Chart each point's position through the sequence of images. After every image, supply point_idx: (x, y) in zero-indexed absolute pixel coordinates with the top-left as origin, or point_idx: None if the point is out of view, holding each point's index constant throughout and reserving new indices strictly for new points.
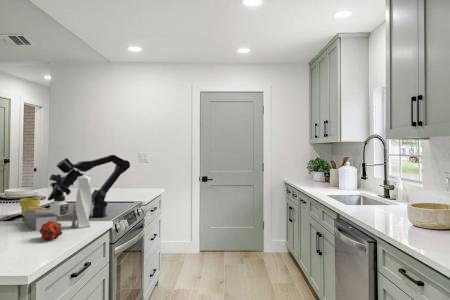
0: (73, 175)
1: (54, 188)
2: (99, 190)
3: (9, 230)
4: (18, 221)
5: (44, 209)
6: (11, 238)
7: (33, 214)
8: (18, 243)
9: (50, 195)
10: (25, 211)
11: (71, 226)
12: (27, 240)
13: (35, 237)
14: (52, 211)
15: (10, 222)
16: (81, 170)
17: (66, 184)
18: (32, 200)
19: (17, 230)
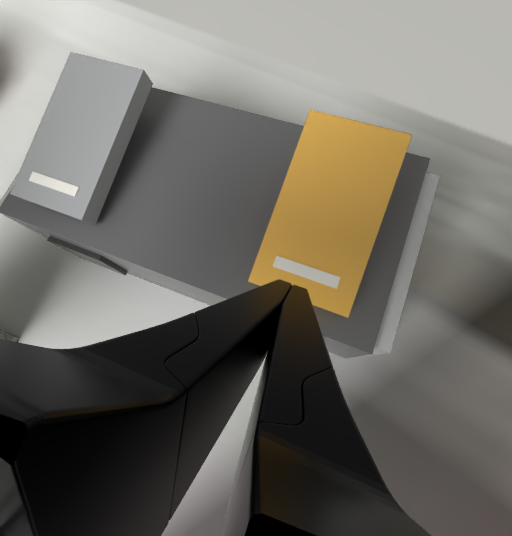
0: None
1: (57, 388)
2: None
3: (262, 75)
4: (506, 229)
5: (260, 255)
6: (103, 19)
7: (196, 117)
8: (12, 5)
9: (276, 324)
10: (413, 155)
11: (14, 336)
12: (14, 40)
13: (20, 79)
14: (66, 214)
15: (509, 179)
16: None
17: None
18: None
19: (225, 97)
